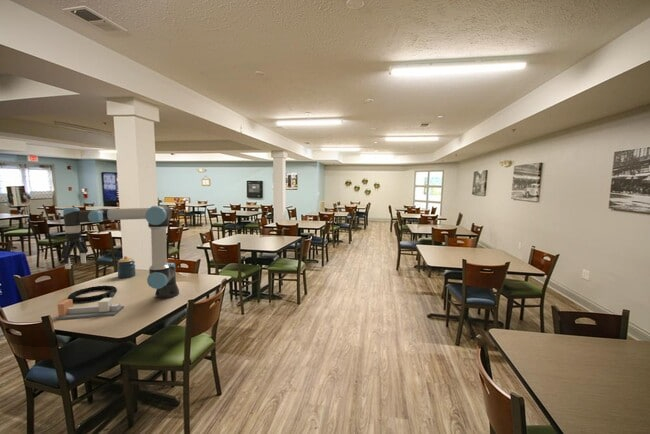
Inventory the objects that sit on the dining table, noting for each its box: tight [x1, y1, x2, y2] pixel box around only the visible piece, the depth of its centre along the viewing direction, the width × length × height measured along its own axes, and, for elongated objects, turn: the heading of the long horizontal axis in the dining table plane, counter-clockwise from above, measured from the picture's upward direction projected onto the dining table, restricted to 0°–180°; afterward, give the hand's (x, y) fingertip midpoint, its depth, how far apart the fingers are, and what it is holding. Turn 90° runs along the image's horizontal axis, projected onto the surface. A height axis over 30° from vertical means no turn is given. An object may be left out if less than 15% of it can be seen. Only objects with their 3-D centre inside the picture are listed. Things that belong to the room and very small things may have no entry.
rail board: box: [56, 298, 125, 321], centre depth 179 cm, size 30×12×8 cm, turn 101°
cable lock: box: [67, 285, 118, 304], centre depth 208 cm, size 28×4×30 cm
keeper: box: [97, 297, 114, 312], centre depth 180 cm, size 5×6×6 cm
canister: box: [116, 256, 137, 279], centre depth 253 cm, size 13×13×18 cm
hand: (76, 265), depth 185 cm, fingers open, 13 cm apart
